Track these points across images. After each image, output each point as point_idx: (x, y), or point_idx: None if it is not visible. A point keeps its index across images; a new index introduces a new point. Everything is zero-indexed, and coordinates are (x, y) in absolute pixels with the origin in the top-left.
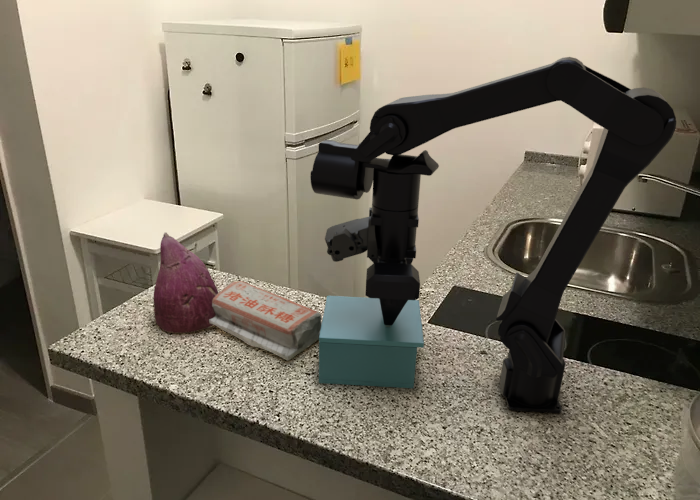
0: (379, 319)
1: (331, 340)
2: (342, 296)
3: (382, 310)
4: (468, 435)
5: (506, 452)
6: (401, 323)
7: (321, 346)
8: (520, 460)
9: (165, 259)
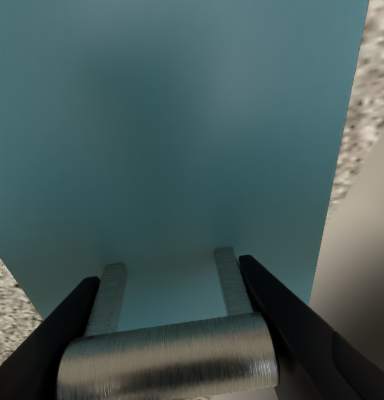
0: (154, 240)
1: None
2: (360, 31)
3: (15, 352)
4: (19, 310)
5: (13, 341)
6: (149, 298)
7: None
8: (7, 351)
9: None
